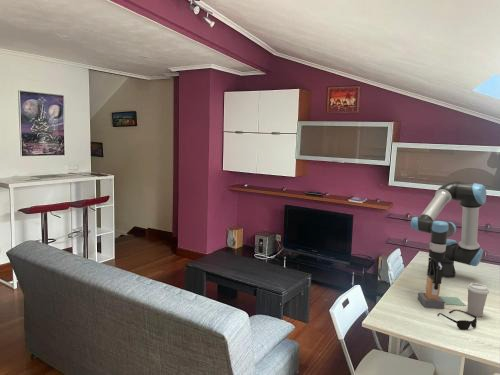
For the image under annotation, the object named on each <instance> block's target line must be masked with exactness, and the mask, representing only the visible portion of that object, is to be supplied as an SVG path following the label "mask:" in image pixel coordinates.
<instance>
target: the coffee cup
mask: <svg viewBox="0 0 500 375" xmlns="http://www.w3.org/2000/svg"><path fill="white" fill-rule="evenodd" d="M466 289H467V309H466V310H467V311H466V312H467V313H470V314H472V315H474V316H476V317H477V318H481V317H482V316H483V313H484V308H485V305H486V301H487V297H488V294H489V293H490V291H489V289H488V287H487V286H486V285H484V284H481V283H476V282H471V283H469V284H468V285H467V287H466Z"/></svg>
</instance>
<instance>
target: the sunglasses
mask: <svg viewBox="0 0 500 375" xmlns="http://www.w3.org/2000/svg"><path fill="white" fill-rule="evenodd" d="M454 312H460V313H464V314H466V315H468V316H469V317H471V318H474V319H473V320H466V319H461V320H460V319H459V320H455V319H453V318H451V317H449V316H447V315H445V314H443V313H441V312H439V313H437V314H436V315H437V317H439V316H440V315H441V316H443V317H444V318H446V319H447V320H450V321H452V322H453V323H455V324H456V327H457V328H458V329H459V330H461V331H462V330H464V331H468V330H469V328H470V326H471V328H473V329H475V328H476V327H477V321H478V317H476V316H474V315H472V314H470V313H467V311H464V310H461V309H452V310H450V311H448V313H449V314H452V313H454Z"/></svg>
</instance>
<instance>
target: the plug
mask: <svg viewBox="0 0 500 375" xmlns="http://www.w3.org/2000/svg"><path fill="white" fill-rule="evenodd" d="M432 282H434V275H427V274H426V284H425V285H426V286H425V292H424V293H425V296H426V298H427V299H435V300H438V298H439V296H440V290H441V289H440V288H441V284H439V285H438V293H437V295H432V285H433V283H432Z"/></svg>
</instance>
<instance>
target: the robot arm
mask: <svg viewBox="0 0 500 375" xmlns="http://www.w3.org/2000/svg"><path fill="white" fill-rule="evenodd" d="M451 201H456V202H457V201H458V202H459V205H460V206H461V207H462V212H461V213H462V214H461V236H460V237H461V238H460V239H461V240H460V241H457V240H455V239H451V238H449V237H451V236H453V235H454V234H455V233H456V232H457V226H456V225H455V223H454V222H451V221H443V220H436V219H437V217H438V216H439V215H440V213H441V212H442V211H443V209H444V207H445V206H446V205H447V204H448V203H450V202H451ZM486 202H487V188H486V186H484V185H483V184H481V183H476V182H475V183H474V182H465V181H458V180H457V181H450V182H448V183H446V184H443V185H442V186H440V187H439V188H438V189H437V190H436V191H435V192H434V197H433V198H432V200H431V201H430V202H429V203H428V205H427V206H426V208H425V209H424V210H423V212H422V213H421V214H420V216H419V217H418V216H414V217H412V218H411V220H410V228H411V230H414V231H417V232H422V233H427V234H430V241H429V242H430V243H429V245H428V246H429V251H428V265H427V272H426V276H427V275H434V282H432V283H433V285H432V295H437V293H438V285H439V284H440V285H441V284H442V281H443V280H442V279H443V278H446V279H447V278H448V279H450V278H451V279H452V278H455V277H456V273H457V272H456V269H455V262H456V263H460V264H463V265H467V266H472V267H477V266H478V265H479V264H480V262H481V260H482V258H483V253H484V250H483V249H482V248H480V247H481V246H480V244H479V242H478V234H479V233H478V232H479V213H480V208H481V207H483V205H484V204H486ZM457 242H458V243H457Z"/></svg>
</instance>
